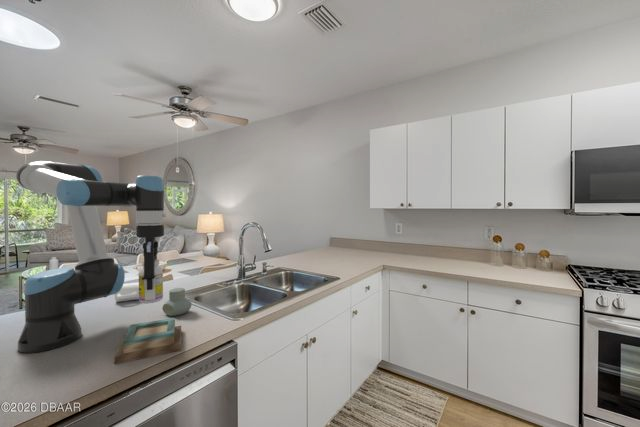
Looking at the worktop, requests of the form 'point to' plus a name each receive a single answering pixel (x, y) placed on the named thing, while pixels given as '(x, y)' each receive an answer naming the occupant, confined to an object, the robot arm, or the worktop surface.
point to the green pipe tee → (177, 303)
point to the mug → (128, 292)
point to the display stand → (149, 340)
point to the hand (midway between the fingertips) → (151, 296)
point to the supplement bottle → (158, 284)
